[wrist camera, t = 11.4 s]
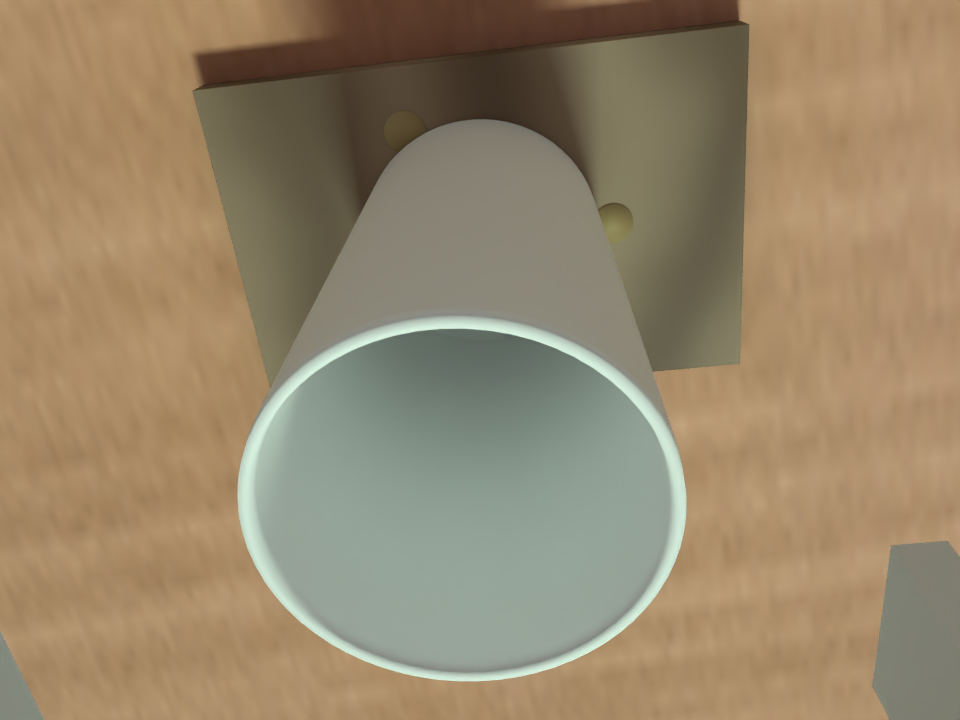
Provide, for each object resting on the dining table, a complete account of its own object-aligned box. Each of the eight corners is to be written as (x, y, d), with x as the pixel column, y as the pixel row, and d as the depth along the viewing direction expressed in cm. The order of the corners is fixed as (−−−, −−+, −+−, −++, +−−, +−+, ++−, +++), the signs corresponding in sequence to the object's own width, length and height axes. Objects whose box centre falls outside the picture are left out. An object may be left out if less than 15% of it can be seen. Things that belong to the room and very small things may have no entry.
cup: (381, 348, 32) (280, 690, 17) (349, 128, 28) (187, 331, 14) (600, 336, 31) (682, 676, 17) (597, 110, 27) (698, 300, 13)
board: (282, 390, 34) (274, 405, 33) (204, 84, 29) (191, 90, 27) (732, 349, 33) (740, 364, 31) (739, 20, 27) (749, 24, 26)
